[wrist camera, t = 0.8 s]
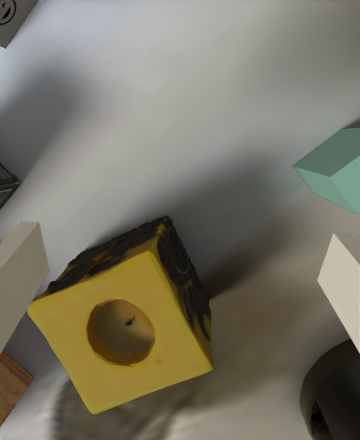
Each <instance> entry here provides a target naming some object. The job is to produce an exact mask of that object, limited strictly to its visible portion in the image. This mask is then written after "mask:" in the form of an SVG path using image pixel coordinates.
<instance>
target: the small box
mask: <svg viewBox="0 0 360 440" xmlns="http://www.w3.org/2000/svg"><path fill="white" fill-rule="evenodd" d="M19 185H20V181H19V180H18V179H17V178H16V177H15V176H14V175H12V174H11V173H10V172H9V171H8V170H7V169H5V168H4V167H3V166H2V165H1V164H0V208H1V207H2V205H3V204H4V203H5V202H6V201H7V199H8V198H9V197H10V196H11V195H12V193H13V192H14V191H15V190H16V188H17V187H18V186H19Z"/></svg>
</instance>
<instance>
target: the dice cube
mask: <svg viewBox="0 0 360 440" xmlns="http://www.w3.org/2000/svg"><path fill="white" fill-rule="evenodd" d="M37 2H38V0H0V46H1V47H3V48H5V49H6V47H7V46H8V44H9V43H10V41H11V40H12V38H13V37H14V35H15V34H16V32H17V31H18V30H19V28H20V27H21V25H22V24H23V22H24V21H25V19H26V18H27V16H28V15H29V13H30V12H31V10H32V9H33V8H34V6H35V5H36V3H37Z"/></svg>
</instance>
